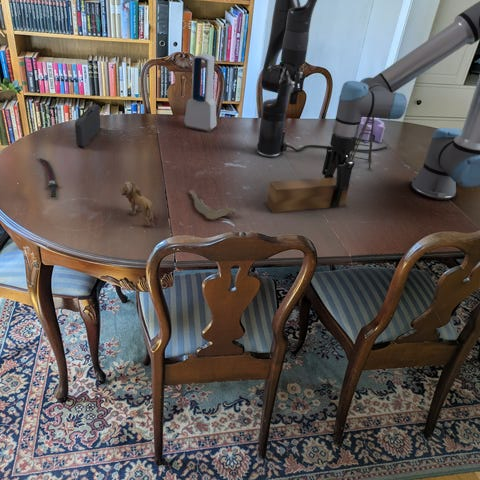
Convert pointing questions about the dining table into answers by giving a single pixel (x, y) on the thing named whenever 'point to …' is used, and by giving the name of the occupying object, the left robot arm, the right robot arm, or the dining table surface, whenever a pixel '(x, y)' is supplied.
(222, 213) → the jawbone
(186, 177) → the dining table surface
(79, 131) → the handheld gaming console
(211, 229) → the dining table surface
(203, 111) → the electronic device
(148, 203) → the lion figurine
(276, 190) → the bar
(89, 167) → the dining table surface
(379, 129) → the purple notched block
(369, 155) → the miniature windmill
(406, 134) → the dining table surface
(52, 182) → the sword
